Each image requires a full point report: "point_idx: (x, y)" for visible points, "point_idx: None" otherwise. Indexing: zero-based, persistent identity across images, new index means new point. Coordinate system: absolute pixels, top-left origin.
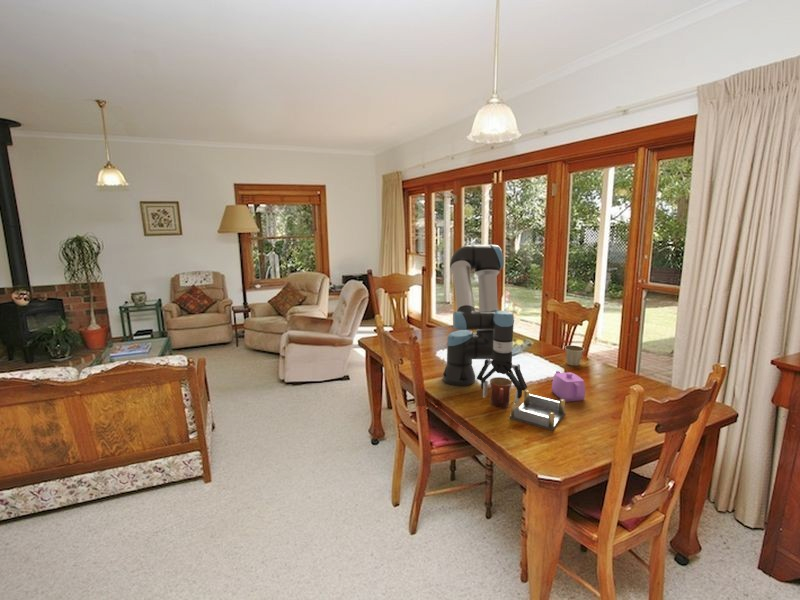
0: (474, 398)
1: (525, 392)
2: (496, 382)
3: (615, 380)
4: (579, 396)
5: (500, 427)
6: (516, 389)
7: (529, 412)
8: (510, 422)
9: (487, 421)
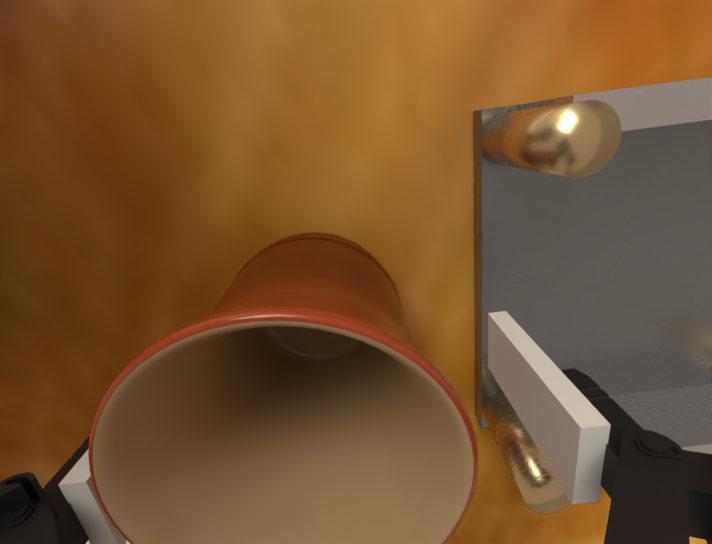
0: (100, 334)
1: (564, 176)
2: (179, 378)
3: None
4: None
5: (474, 518)
6: (575, 471)
7: None
8: (498, 450)
9: None
